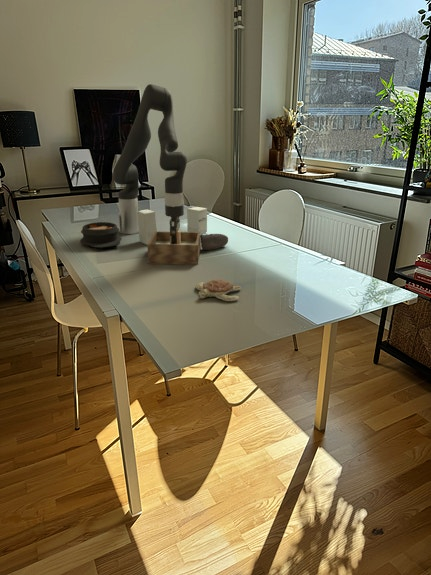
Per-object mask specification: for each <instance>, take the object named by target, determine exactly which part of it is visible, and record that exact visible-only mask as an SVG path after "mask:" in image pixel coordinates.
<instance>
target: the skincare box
mask: <svg viewBox="0 0 431 575" xmlns="http://www.w3.org/2000/svg"><path fill="white" fill-rule="evenodd" d="M137 216H138V227H139V232H138V233H139V242H140V243H142V244H144V245H146V246H147V244H148V242H149V241H150V239H151V237H152V236H153V234H154V232H155V231H158V230H157V221H156V220H157V219H156V211H154V210H150V209H148V208H147V209H142V210H140V209H139V210H138V211H137Z"/></svg>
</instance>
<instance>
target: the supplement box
mask: <svg viewBox="0 0 431 575" xmlns="http://www.w3.org/2000/svg"><path fill="white" fill-rule="evenodd" d="M186 211H187V212H186V214H187V216H186V218H187V220H186V222H187V224H186V225H187V227H186V228H187V229H186V230H187V231H186V232H200V235H204V234H207V233H208V208H206V207H199V206H193V207H189V208H187V210H186ZM206 232H207V233H206ZM203 233H204V234H203Z"/></svg>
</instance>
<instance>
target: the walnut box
mask: <svg viewBox="0 0 431 575" xmlns="http://www.w3.org/2000/svg"><path fill="white" fill-rule="evenodd" d="M180 235H181V244H170V231H158V230H157V231H155V232H154V234H153V236H152V237H151V239H150V241H149V242H148V244H147V245H146V247H147V263H148V264H150V265H153V264H154V265H155V264H156V265H159V264H160V265H199V260H200V254H201V238H200V236H201V234H200V232H187V231H180Z"/></svg>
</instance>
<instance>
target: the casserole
mask: <svg viewBox="0 0 431 575" xmlns="http://www.w3.org/2000/svg"><path fill="white" fill-rule="evenodd" d="M118 232H120V227H118V225H117V224H116V223H113V222H109V221H108V222H105V221H104V222H103V221H100V222H99V221H98V222H90V223H87V224H85V225H83V226H82V228H81V231H80V233H81V234H82V238H80V243H81V244H83V245H86V246H91V247H92V248H99V249H100V248H102V249H103V248H110V247H115V246H118V245H120V243H121V241H122V239H123V238H122V237H121V236H120V235H118Z"/></svg>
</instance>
